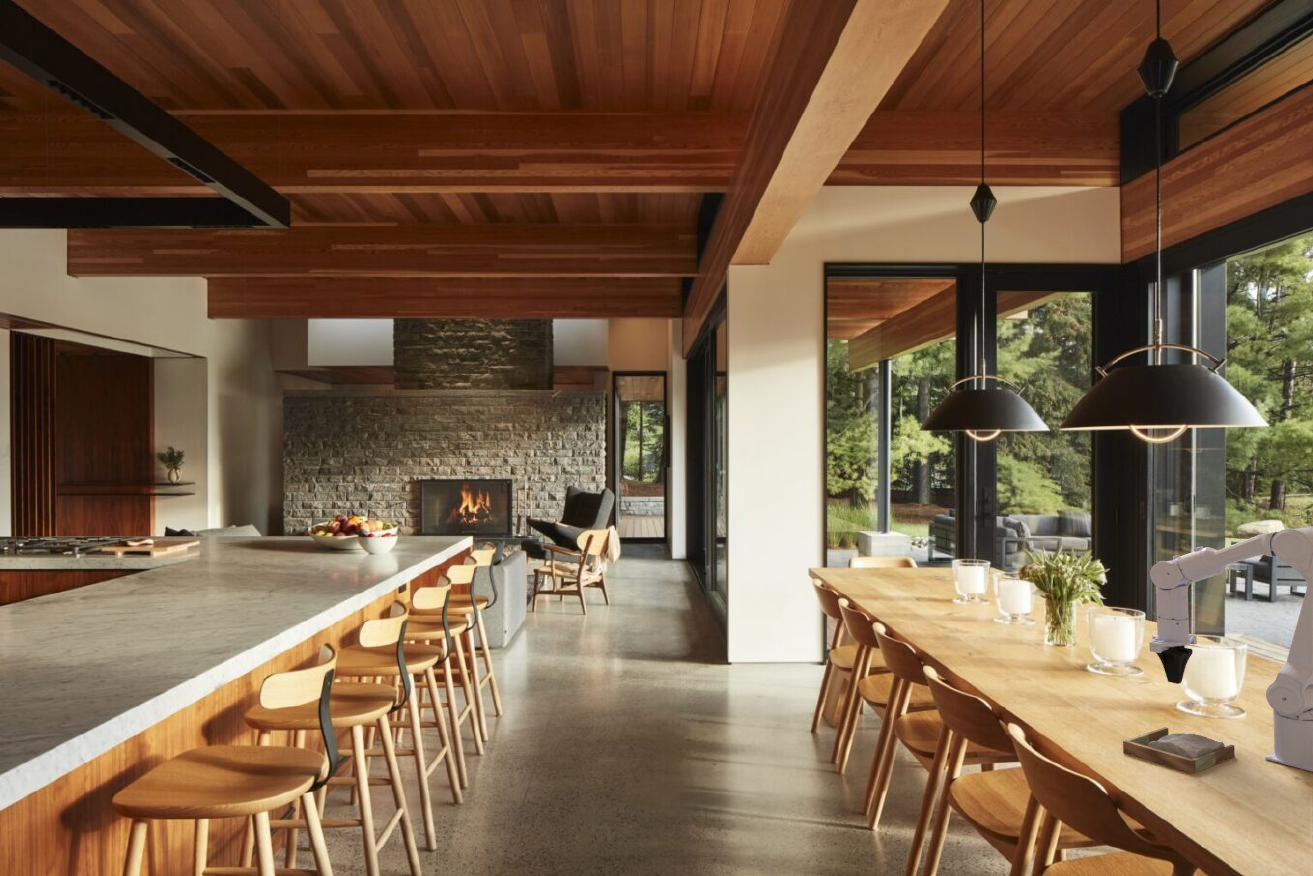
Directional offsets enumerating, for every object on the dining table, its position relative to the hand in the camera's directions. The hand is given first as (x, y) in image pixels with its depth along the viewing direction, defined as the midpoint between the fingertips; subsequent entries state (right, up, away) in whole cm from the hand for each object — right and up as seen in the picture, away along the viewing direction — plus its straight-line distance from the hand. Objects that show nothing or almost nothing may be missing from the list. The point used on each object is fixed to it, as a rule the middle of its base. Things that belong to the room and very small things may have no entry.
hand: (1174, 682), depth 175 cm
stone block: (-8, -10, -15) cm, 20 cm away
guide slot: (-8, -10, -14) cm, 19 cm away
